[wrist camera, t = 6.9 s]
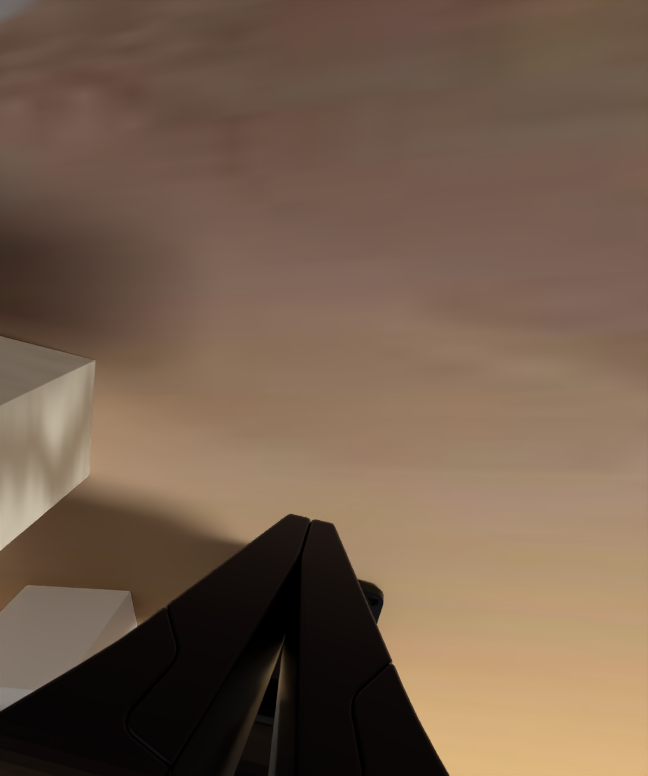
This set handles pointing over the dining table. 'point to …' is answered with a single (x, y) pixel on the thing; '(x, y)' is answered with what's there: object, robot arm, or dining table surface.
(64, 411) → the plain ash cube
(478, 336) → the dining table surface
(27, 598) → the off-white numbered cube
